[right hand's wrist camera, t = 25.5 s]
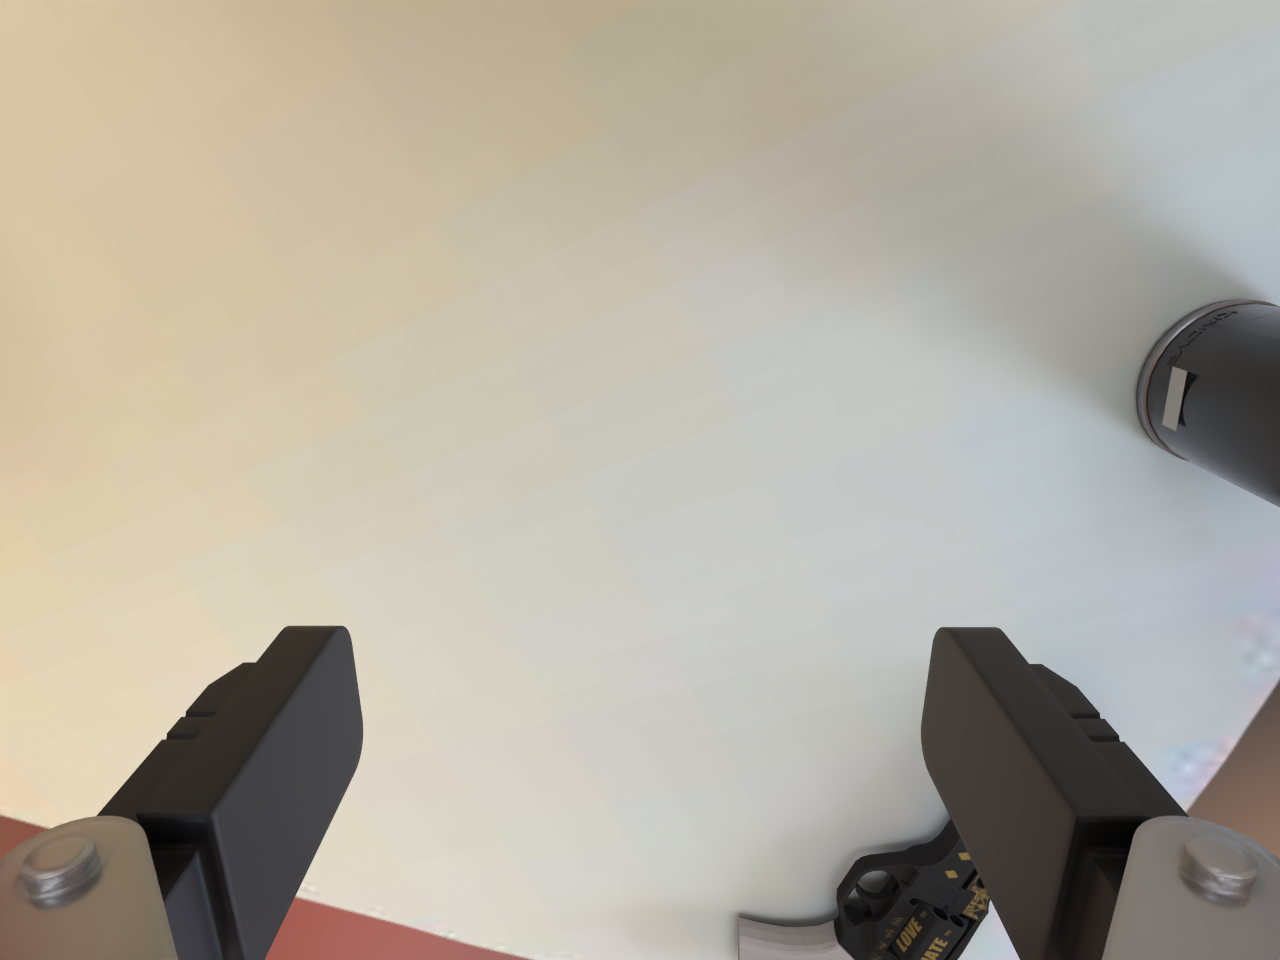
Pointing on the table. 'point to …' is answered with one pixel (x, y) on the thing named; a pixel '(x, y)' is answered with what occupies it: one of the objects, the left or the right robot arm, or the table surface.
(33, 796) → the table surface
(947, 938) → the decorative firearm
